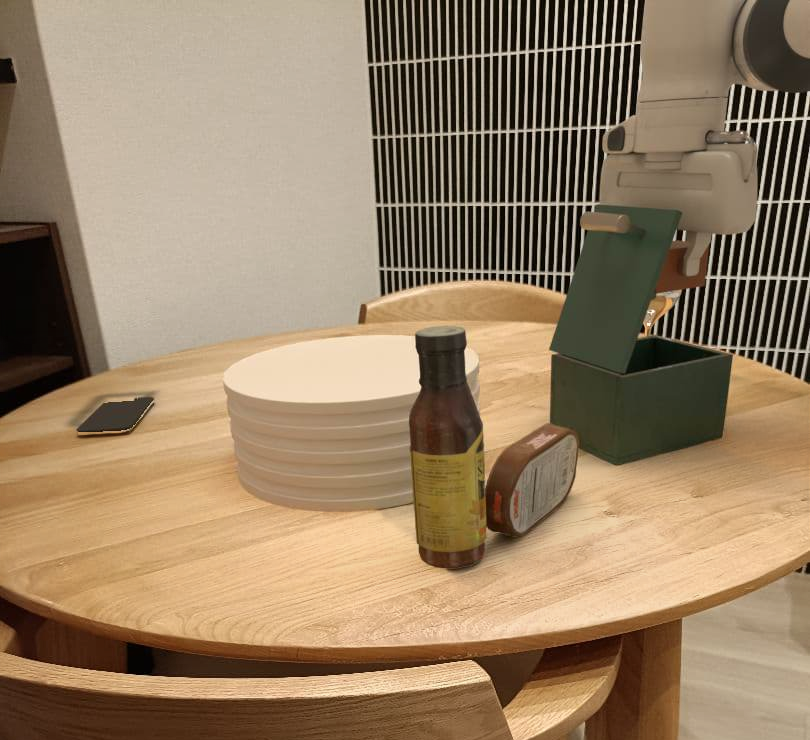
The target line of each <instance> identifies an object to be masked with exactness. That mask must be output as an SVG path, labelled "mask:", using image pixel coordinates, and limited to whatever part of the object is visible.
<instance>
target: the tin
mask: <svg viewBox="0 0 810 740" xmlns="http://www.w3.org/2000/svg"><path fill="white" fill-rule="evenodd" d="M579 449H580V448H579V438H578V435H577V434H576V433H575V431H573V430H571V429H568V428H565V427H560V426H556V425H554V424H552V423H550V422H547V423H544V424H543V425H541V426H539V427H538V428H535V429H534V430H533V431H532V432H529V433H528V434H526V435H524V436H523V437H521V438H520V439H518V440H516V441H515V442H513V443H510V444H509V445H508V446H507V447H505V448H504V449H503V450H502V451H501V452H500V454H499V455H498V456H497V458H496V460H495V462H494V464H493V465H492V467H491V469H490V472H489V474H488V477H487V481H486V482H485V492H486V493H485V499H486V529H487V530H489V531H490V532H491V533H499V534H502V535H506V536H509V537H511V538H513V537H514V538H521V537H523V536H525V535H526V534H528V533H529V532H530V531H531V530H533V529H534V528H535V527H536V526H537V525H539V524H540V523H542V521H544V520H545V519H547V518H548V517H549V516H550V515H551V514H553V513H554V512H555V511H556V510H558V509H559V508H560V507H561V506H562V505H563V504H564V502H565V501H566V500H567V498H568V497H569V494H570V492H571V490H572V488H573V485H574V482H575V479H576V475H577V464H578V458H579Z"/></svg>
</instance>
